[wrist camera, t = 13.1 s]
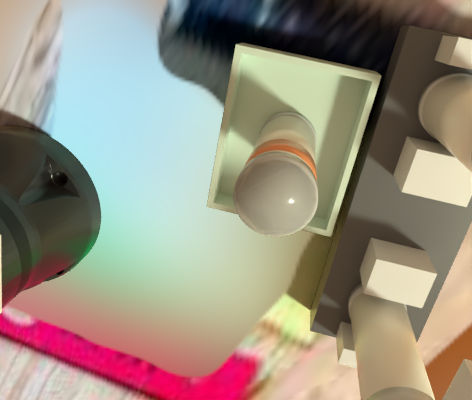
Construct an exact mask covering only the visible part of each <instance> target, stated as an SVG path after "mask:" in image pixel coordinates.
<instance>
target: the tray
mask: <svg viewBox="0 0 472 400" xmlns="http://www.w3.org/2000/svg"><path fill="white" fill-rule="evenodd" d="M380 79H381V75H380V74H379V73H377V72H376V71H372V70H367V69H363V68H358V67H353V66H349V65H344V64H340V63H335V62H330V61H326V60H321V59H316V58H312V57H307V56H302V55H298V54H293V53H288V52H284V51H279V50H274V49H270V48H265V47H261V46H256V45H251V44H247V43H239V44H236V46H235V52H234V57H233V63H232V68H231V74H230V79H229V85H228V90H227V96H226V101H225V107H224V113H223V118H222V124H221V129H220V135H219V140H218V146H217V151H216V157H215V162H214V168H213V174H212V179H211V185H210V191H209V196H208V201H207V207H210V208H215V209H218V210H223V211H226V212H231V213H235V214H238V213H237V211H236V209H235V205H234V200H233V192H234V186H235V183H236V181H237V179H238V177H239V174H240V172H241V171H242V169H243V167H244V166H245V164H246V162H247V160H248V158H249V156H250V154H251V153H252V151H253V149H254V147H255V144H256V142H257V140H258V136H259V133H260V131H261V129H262V127H263V125H264V123H265V122H266V121H267V120H268V119H269V118H270V117H271V116H273V115H275V114H277V113H280V112H285V111H291V112H296V113H299V114H301V115H303V116H305V117H306V118H307V119H308V120H309V121H310V122H311V123H312V125H313V127H314V129H315V132H316V139H317V144H316V150H315V154H316V171H317V185H318V205H317V209H316V212H315V214H314V216H313V218H312V219H311V221H310V222H309V223H308V224H307V225H306V226H305V227H304V228H302V229H301V230H304V231H308V232H312V233H316V234H320V235H324V236H328V237H331V235H332V232H333V229H334V225H335V222H336V219H337V216H338V213H339V210H340V206H341V203H342V200H343V197H344V194H345V191H346V187H347V184H348V181H349V178H350V175H351V171H352V168H353V165H354V162H355V159H356V156H357V152H358V149H359V146H360V143H361V140H362V136H363V133H364V130H365V127H366V124H367V121H368V117H369V114H370V111H371V108H372V105H373V102H374V98H375V95H376V92H377V89H378V86H379V82H380Z"/></svg>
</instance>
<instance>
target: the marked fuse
mask: <svg viewBox="0 0 472 400" xmlns="http://www.w3.org/2000/svg"><path fill="white" fill-rule="evenodd" d="M316 144H317V139H316V132H315V129H314V127H313V125H312V123H311V122H310V121H309V120H308V119H307V118H306V117H305V116H303V115H301V114H299V113H296V112H291V111H285V112H280V113H277V114H275V115H273V116H271V117H270V118H269V119H268V120H267V121H266V122H265V123H264V125H263V127H262V129H261V131H260V133H259V136H258V140H257V142H256V144H255V147H254V149H253V151H252V153H251V154H250V156H249V158H248V160H247V162H246V164H245V166H244V167H243V169H242V171H241V172H240V174H239V177H238V179H237V181H236V183H235V186H234V192H233V200H234V205H235V209H236V211H237V213H238V215H239V217H240V218H241V219H242V221H243V222H244V223H245V224H246V225H247V226H248V227H250V228H251V229H252V230H254V231H256V232H258V233H261V234H264V235H267V236H274V237H279V236H287V235H290V234H293V233H296V232H297V231H299V230H301V229H302V228H304V227H305V226H306V225H307V224H308V223H309V222H310V221H311V219H312V218H313V216H314V214H315V212H316V209H317V205H318V185H317V171H316V154H315V150H316Z"/></svg>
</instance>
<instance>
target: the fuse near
mask: <svg viewBox="0 0 472 400" xmlns="http://www.w3.org/2000/svg"><path fill="white" fill-rule="evenodd" d="M417 116H418V120H419V122H420V124H421V126H422V127H423V128H424V129H425V131H426V132H428V133H429V134H430V135H431V136H432V137H434V138H435V139H437V140H438V141H439V142H440V143H441V144H442V145H443V146H444V147H445V148H446V149H448V150H449V151H450V152H451V153H452V154H453V155H454V156H455V157H456V158H457V159H458V160H459V161H460V162H461V163H462V164H463V165H464V166H465V167H466V168H467V169H468V170H470V171H471V172H472V75H470V74H466V73H461V72H454V73H448V74H445V75H442V76H440V77H438V78H436V79H435V80H433V81H432V82H431V83H429V84H428V85H427V86H426V88H425V89H424V90H423V92H422V93H421V95H420V98H419V100H418V104H417Z"/></svg>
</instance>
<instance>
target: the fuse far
mask: <svg viewBox="0 0 472 400" xmlns="http://www.w3.org/2000/svg"><path fill="white" fill-rule="evenodd" d="M348 309H349V316H350V319H351V323H352V331H353V339H354V347H355V355H356V363H357V371H358V379H359V387H360V395H361V400H435V398H434V395H433V392H432V389H431V386H430V383H429V380H428V377H427V373H426V370H425V367H424V364H423V361H422V358H421V355H420V351H419V348H418V345H417V342H416V339H415V336H414V333H413V330H412V327H411V323H410V320H409V317H408V314H407V307H406V304H402V303H399V302H395V301H391V300H387V299H383V298H379V297H375V296H371V295H367V294H364V292H363V286H362V283H360V284H359V285H357V286H356V287H355V288H354V289H353V290H352V291H351V293H350V295H349V298H348Z"/></svg>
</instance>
